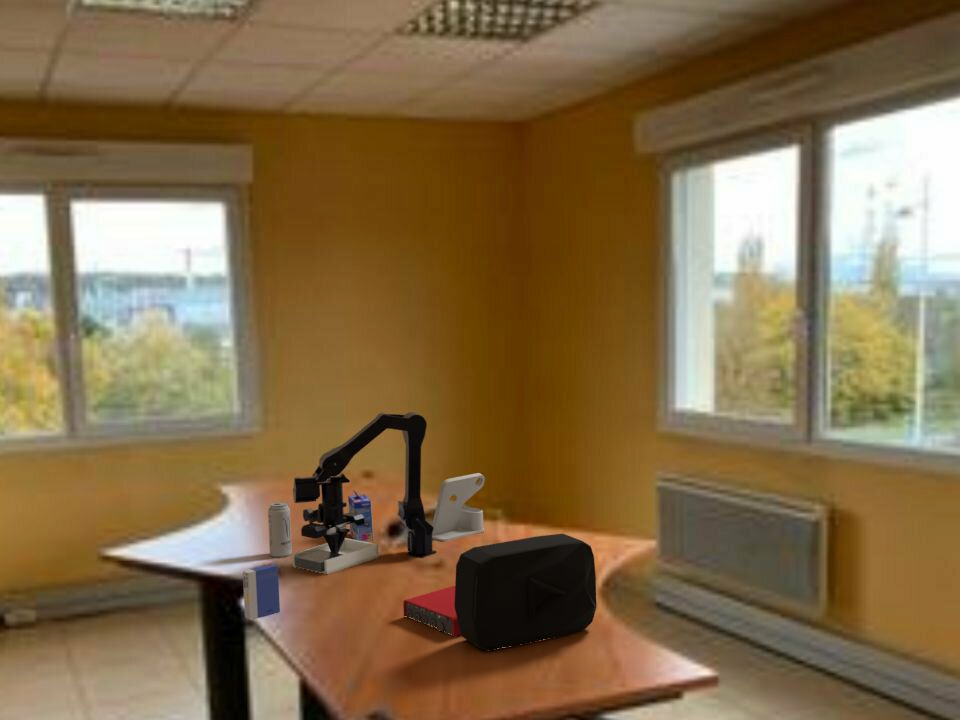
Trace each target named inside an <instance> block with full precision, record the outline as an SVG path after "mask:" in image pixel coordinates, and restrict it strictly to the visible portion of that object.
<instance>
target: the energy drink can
mask: <svg viewBox="0 0 960 720" xmlns="http://www.w3.org/2000/svg"><path fill="white" fill-rule="evenodd" d="M267 519H268V537H269V538H268V539H269V542H268V543H269V555H270V556H271V557H273V558H285V556H286V557H289V556H290V555H291V554H293V550H292V549H293V548H292V529H291V527H292V526H291V509H290V507H289V505H288V502H285V501H277V502H271V503H270V504H269V508H268V510H267ZM288 555H289V556H288Z"/></svg>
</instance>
